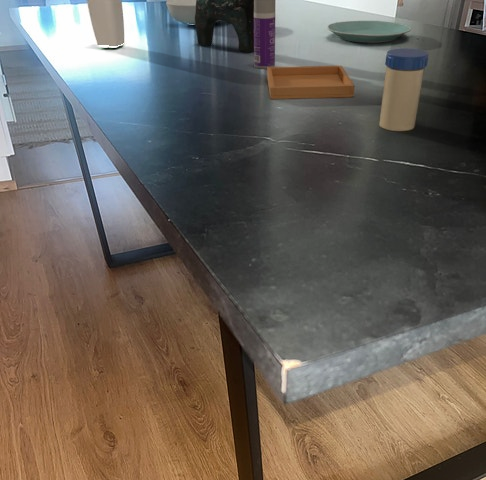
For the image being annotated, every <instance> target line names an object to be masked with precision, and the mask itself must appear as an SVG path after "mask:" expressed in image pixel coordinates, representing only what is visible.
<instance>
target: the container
mask: <svg viewBox="0 0 486 480" xmlns="http://www.w3.org/2000/svg"><path fill="white" fill-rule="evenodd" d="M253 56H254V57H253V62H254V63H253V65H254V68H256V69H263V70H265V69H266V70H267V67H276V0H254V52H253Z"/></svg>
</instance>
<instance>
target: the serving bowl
mask: <svg viewBox="0 0 486 480" xmlns="http://www.w3.org/2000/svg"><path fill="white" fill-rule="evenodd" d="M165 3H166V7H167V11H168V12H169V14H170V16H171V18H173V19H174V20H175V21H177V22H178V23H181V22H182V24H185V23H189V24H195V11H196V0H166V2H165ZM218 21H220V22H222V21H221V20H217V21H216V22H217V23H219V22H218Z"/></svg>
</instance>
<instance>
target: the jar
mask: <svg viewBox="0 0 486 480" xmlns="http://www.w3.org/2000/svg"><path fill="white" fill-rule="evenodd" d="M425 68H426V67H425ZM425 68H423V69H418V70H399V69H393V68H389V67H387V66H386V68H385V76H384V82H383V83H384V84H383V91H382V97H381V98H382V99H381V106H380V115H379V121H378V122H379V123H378V126H379V127H380V128H382V129H384V130H387V131H392V132H405V131H406V132H407V131H411V130H414V128H415V126H416V120H417V117H418V115H417V114H418V109H419V103H420V99H421V98H420V97H421V91H422V87H423V86H422V85H423V81H424V80H423V79H424V74H425Z"/></svg>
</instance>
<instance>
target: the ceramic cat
mask: <svg viewBox="0 0 486 480" xmlns="http://www.w3.org/2000/svg"><path fill="white" fill-rule="evenodd" d="M217 20H221V21H220V22H224V23H228V24H231V26H232V27H233V29H234V31H235V34H236V36H237V40H238V52H239V51H242V52H241V53H248V54H249V53H250V54H251V53H254V0H196V11H195V26H194V27H195V32H196V39H197V44H198V46H201V47H209V46H208V45H210V46H212V45H213V39H214V32H215V26H216V24H217V23H216V21H217ZM211 44H212V45H211Z"/></svg>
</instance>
